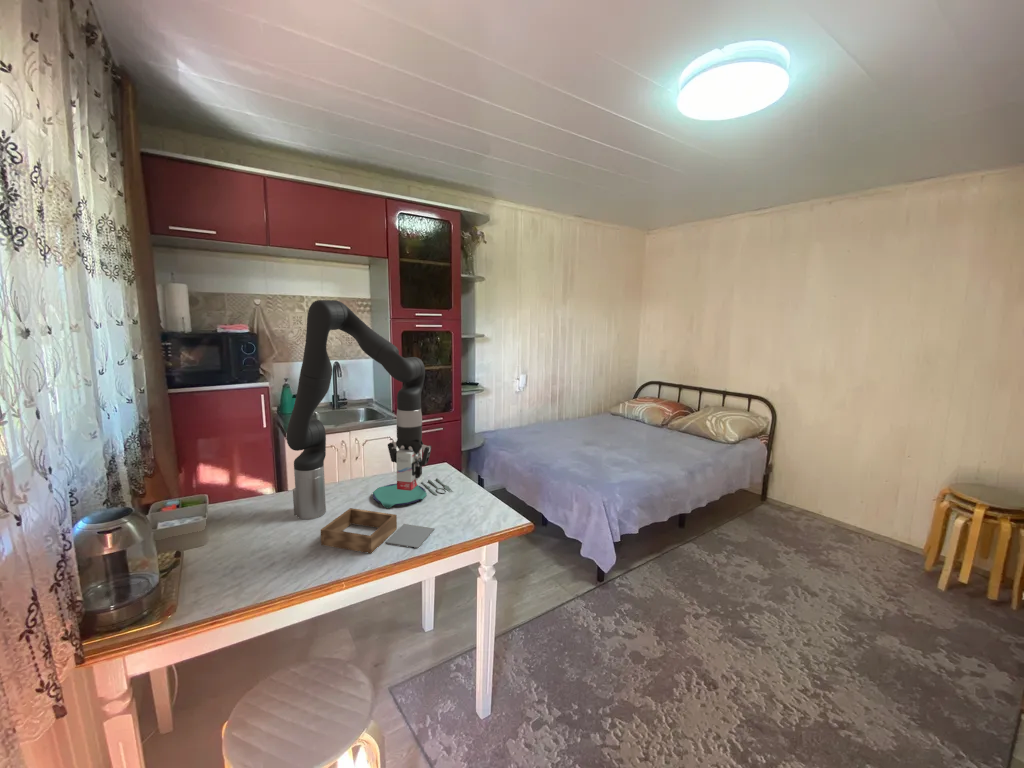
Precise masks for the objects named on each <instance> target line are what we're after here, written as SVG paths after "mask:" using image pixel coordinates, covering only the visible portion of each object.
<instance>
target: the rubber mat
mask: <svg viewBox="0 0 1024 768" xmlns="http://www.w3.org/2000/svg"><path fill="white" fill-rule="evenodd" d="M435 529H436V527H435V528H434V527H429V526H421V525H415V524H414V525H413V524H410V523H409V524H408V523H403V524H402V525H401V526H400V527H399V528H397V529H396V530H395V531H394V532H393V533H392V534H391V535H390V536H389V537H388V538H387V539H386V540H385V541H384V543H386V544H387V545H391V544H392V546H397V545H400V546H399V547H403V546H408V547H407V548H409V547H414V548H413V549H415V548H419V547H420V546H421V547H422V545H423V544H424V543H425V542H426V541H427V539H428V538H429V537H430V536H431V535H432V533H433V532H434V531H435ZM430 534H431V535H430ZM425 540H426V541H425ZM424 541H425V542H424ZM423 542H424V543H423ZM422 543H423V544H422ZM386 544H385V545H386ZM421 547H420V548H421ZM420 548H419V549H420Z"/></svg>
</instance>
